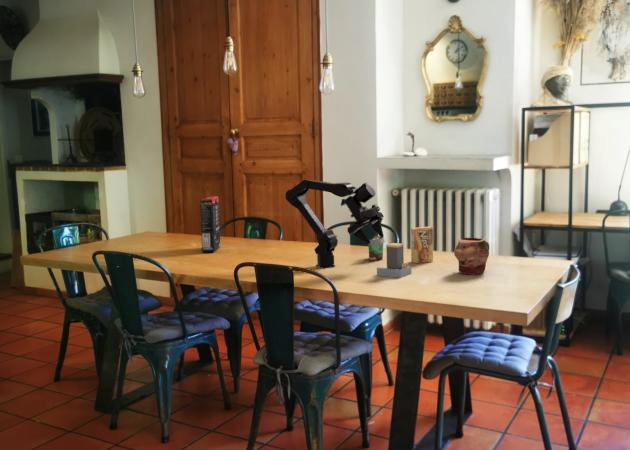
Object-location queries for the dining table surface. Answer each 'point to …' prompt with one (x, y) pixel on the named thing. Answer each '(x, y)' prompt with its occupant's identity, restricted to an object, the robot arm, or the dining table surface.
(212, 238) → the graphics card box
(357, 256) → the dining table surface
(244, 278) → the dining table surface
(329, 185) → the robot arm
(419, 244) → the candy box
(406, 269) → the header shroud
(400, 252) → the plug block
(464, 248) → the decorative planter
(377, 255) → the food container
